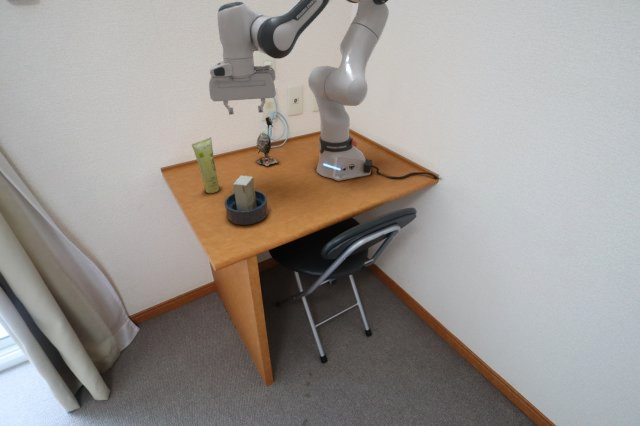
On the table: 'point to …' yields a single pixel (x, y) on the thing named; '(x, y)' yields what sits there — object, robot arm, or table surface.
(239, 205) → the cosmetic box
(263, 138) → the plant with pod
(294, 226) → the table surface
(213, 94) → the robot arm
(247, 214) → the bowl
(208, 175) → the tube
